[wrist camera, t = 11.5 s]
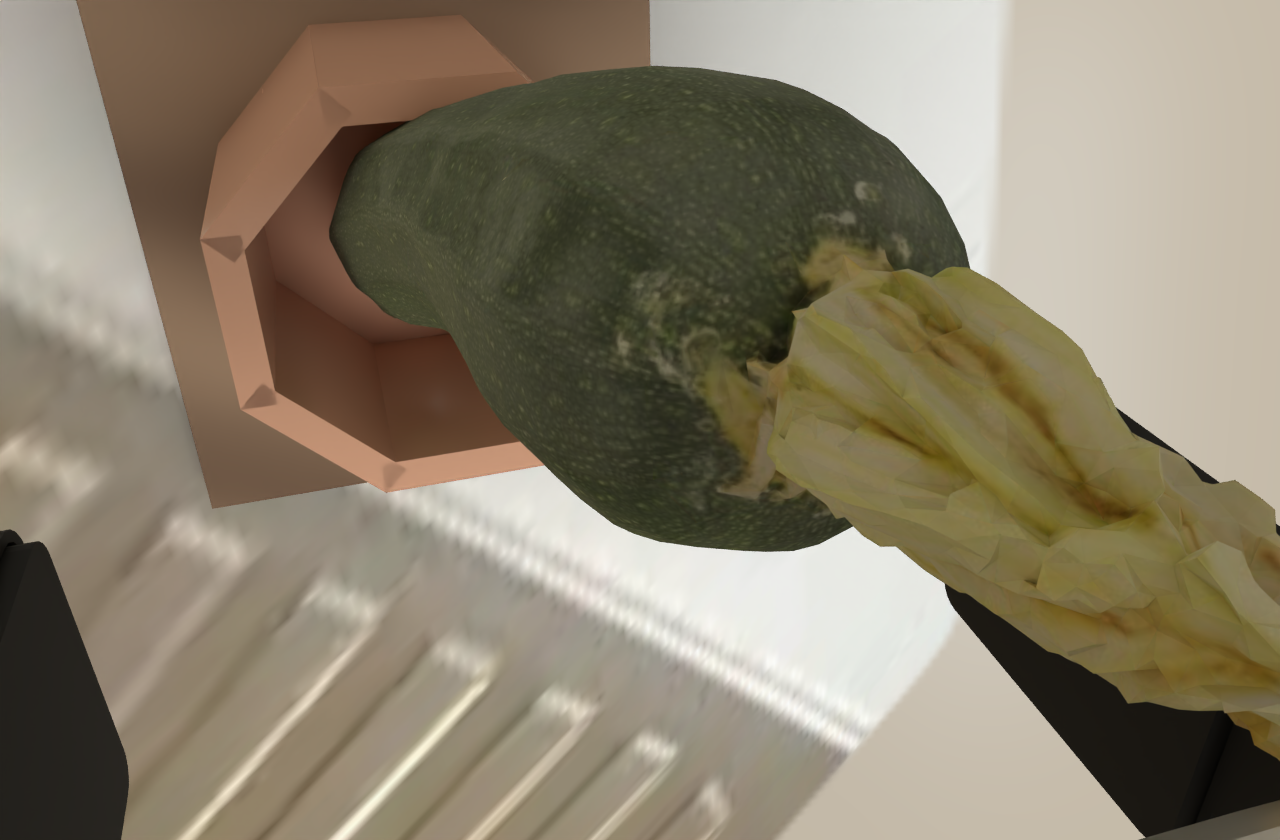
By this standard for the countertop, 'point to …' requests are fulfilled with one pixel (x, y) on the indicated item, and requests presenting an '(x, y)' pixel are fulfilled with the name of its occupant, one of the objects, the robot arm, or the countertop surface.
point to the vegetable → (804, 365)
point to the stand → (202, 114)
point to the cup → (313, 274)
